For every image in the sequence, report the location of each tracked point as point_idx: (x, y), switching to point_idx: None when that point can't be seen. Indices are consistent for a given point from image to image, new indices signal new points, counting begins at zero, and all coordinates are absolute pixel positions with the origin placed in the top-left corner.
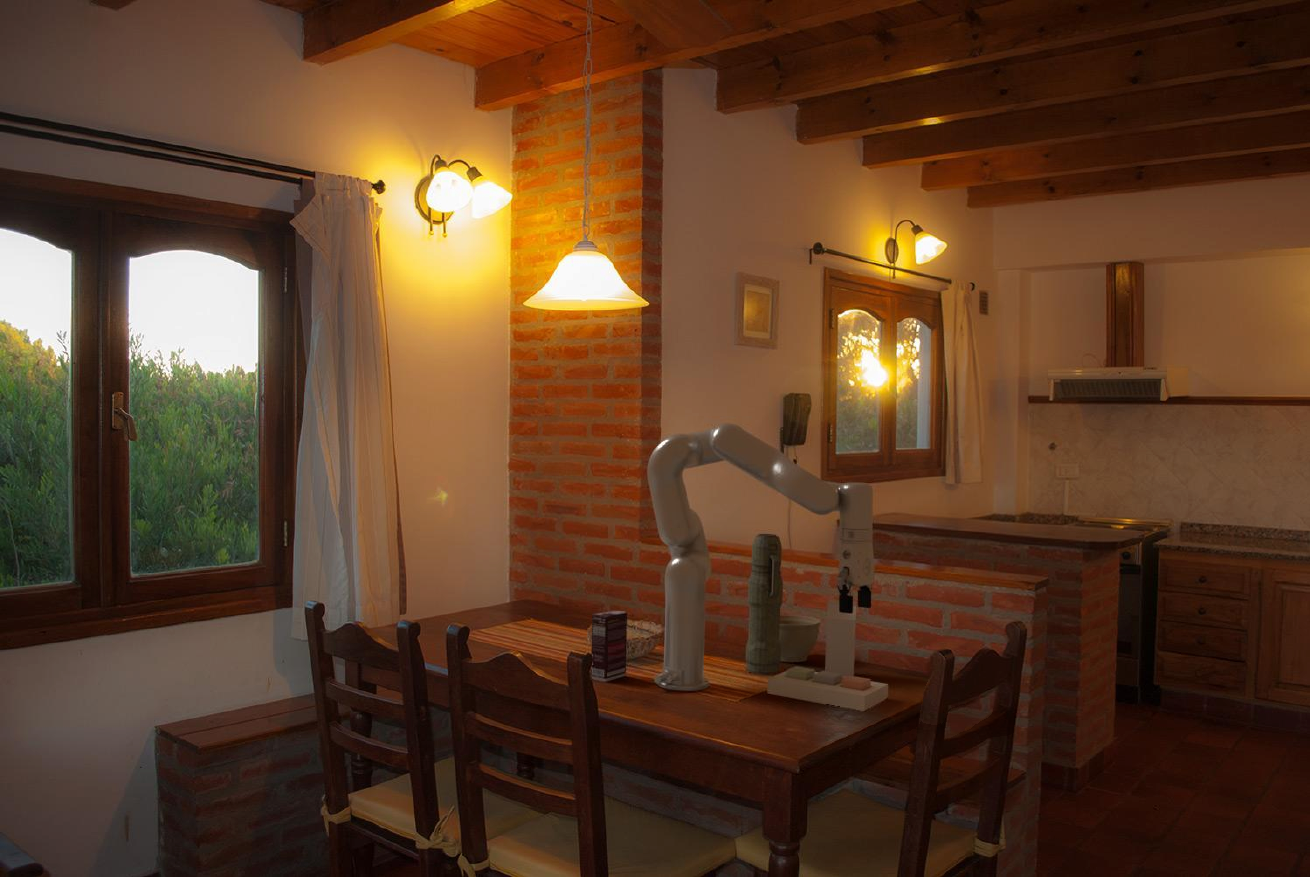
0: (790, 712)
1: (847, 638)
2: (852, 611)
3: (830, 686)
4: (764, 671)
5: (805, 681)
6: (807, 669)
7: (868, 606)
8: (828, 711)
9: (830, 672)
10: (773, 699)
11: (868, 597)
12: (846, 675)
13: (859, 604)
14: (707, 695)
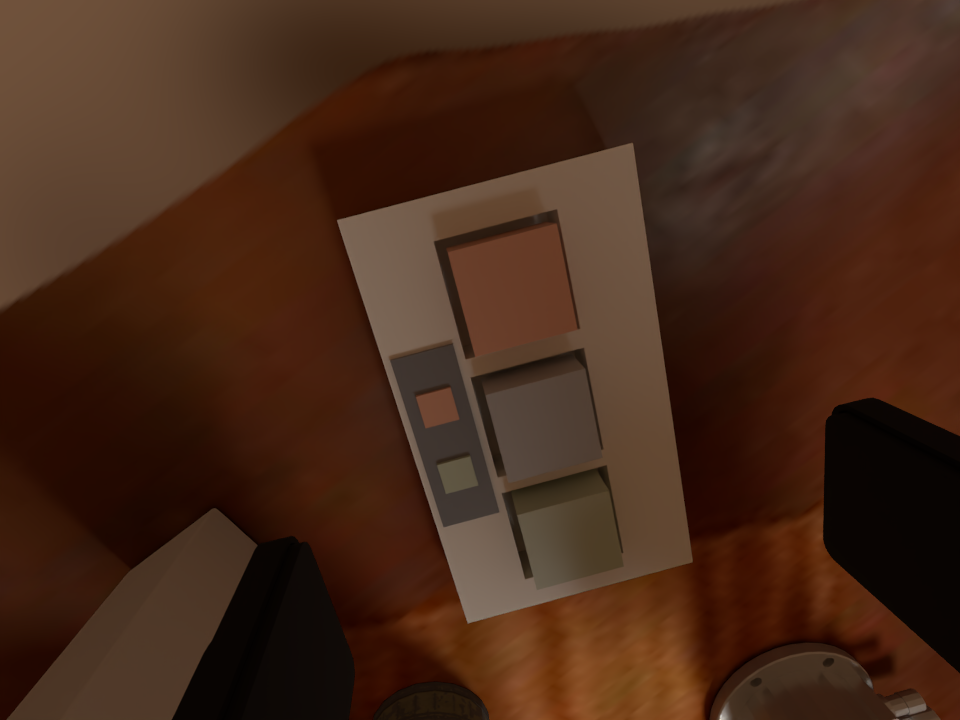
0: (823, 317)
1: (149, 670)
2: (872, 404)
3: (608, 348)
4: (470, 703)
5: (619, 459)
6: (544, 530)
7: (304, 558)
8: (710, 244)
9: (504, 445)
10: (718, 464)
11: (268, 678)
12: (232, 533)
13: (346, 674)
14: (830, 596)
